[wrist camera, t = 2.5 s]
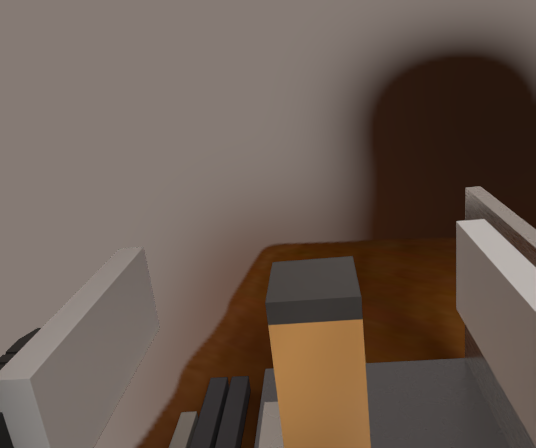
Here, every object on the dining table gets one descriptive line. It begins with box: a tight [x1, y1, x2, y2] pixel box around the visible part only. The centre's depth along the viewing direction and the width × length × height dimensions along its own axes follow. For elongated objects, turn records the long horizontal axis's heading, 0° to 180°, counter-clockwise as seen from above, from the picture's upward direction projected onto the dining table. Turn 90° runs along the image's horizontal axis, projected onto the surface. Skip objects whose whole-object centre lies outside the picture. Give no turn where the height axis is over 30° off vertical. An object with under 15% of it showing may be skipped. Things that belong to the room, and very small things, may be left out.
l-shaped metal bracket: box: [254, 186, 536, 448], centre depth 27 cm, size 26×17×16 cm, turn 176°
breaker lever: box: [265, 256, 371, 448], centre depth 28 cm, size 5×4×13 cm
